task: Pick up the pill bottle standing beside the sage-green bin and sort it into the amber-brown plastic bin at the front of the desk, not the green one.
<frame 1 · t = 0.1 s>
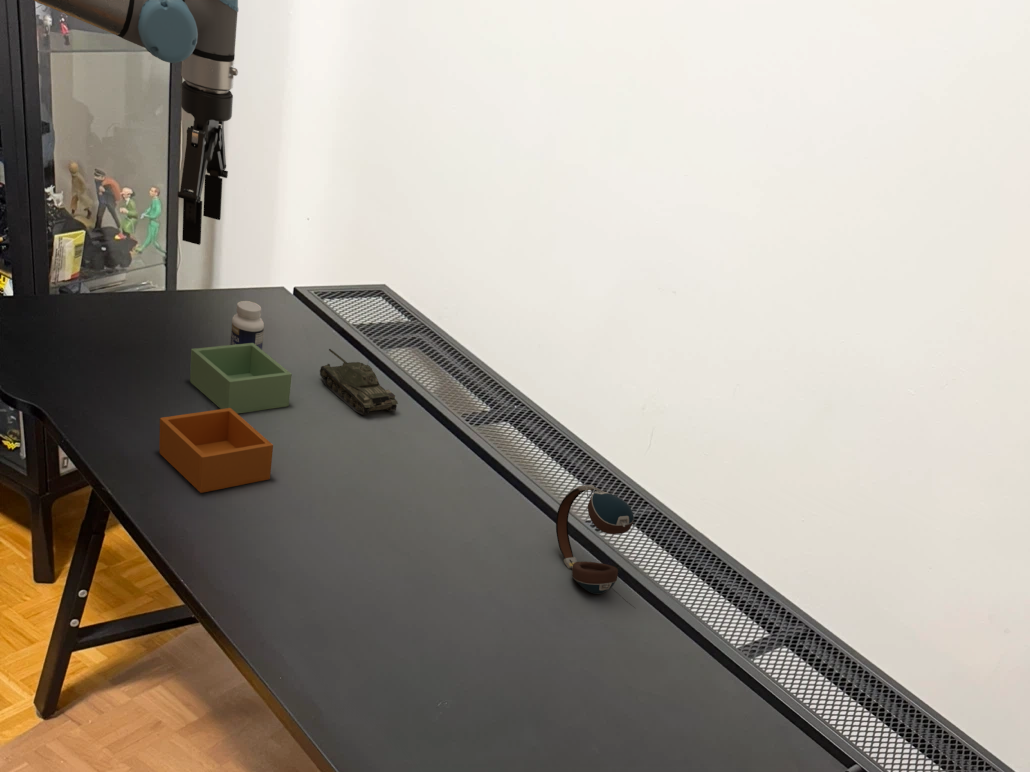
hand: (202, 229, 169), 19 cm above the table, tool pointing down, fingers open, 13 cm apart
toy tank: (353, 395, 182), on the table
headphones: (587, 586, 155), on the table
pill bottle: (245, 360, 181), on the table
amber bin: (215, 466, 153), on the table
green bin: (239, 394, 171), on the table
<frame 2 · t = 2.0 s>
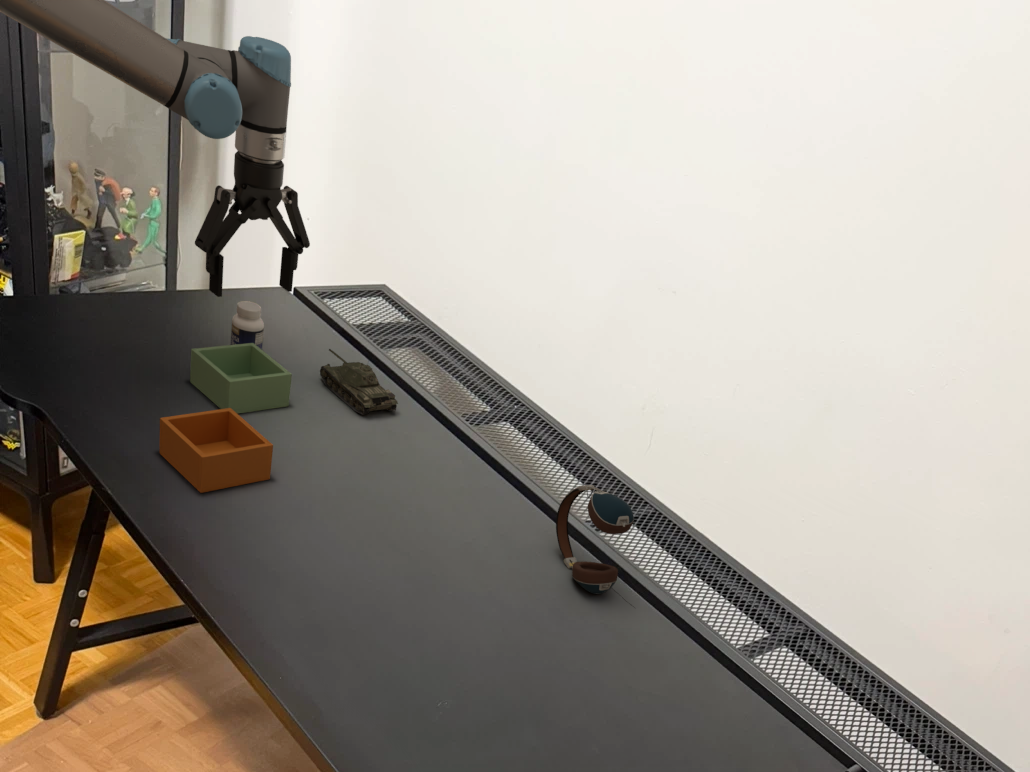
hand: (251, 291, 173), 12 cm above the table, tool pointing down, fingers open, 13 cm apart
nothing on the table moved.
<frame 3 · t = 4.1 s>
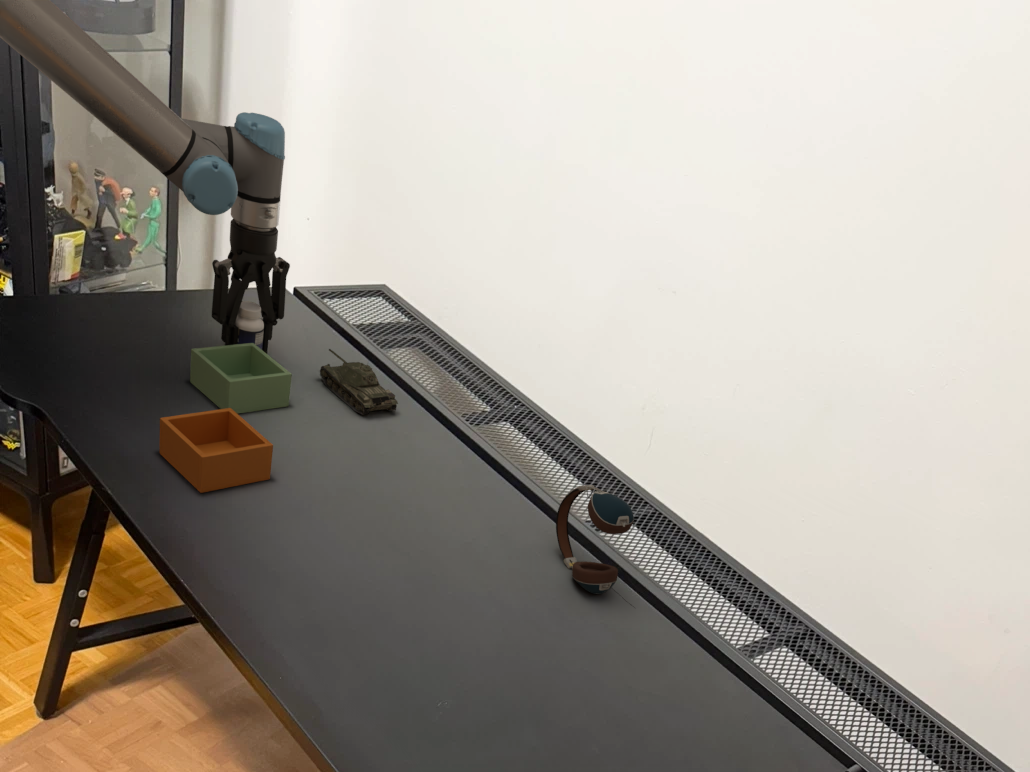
hand: (245, 358, 180), 0 cm above the table, tool pointing down, fingers closed on pill bottle, 5 cm apart
pill bottle: (245, 360, 181), on the table, touching gripper
everything else where it was.
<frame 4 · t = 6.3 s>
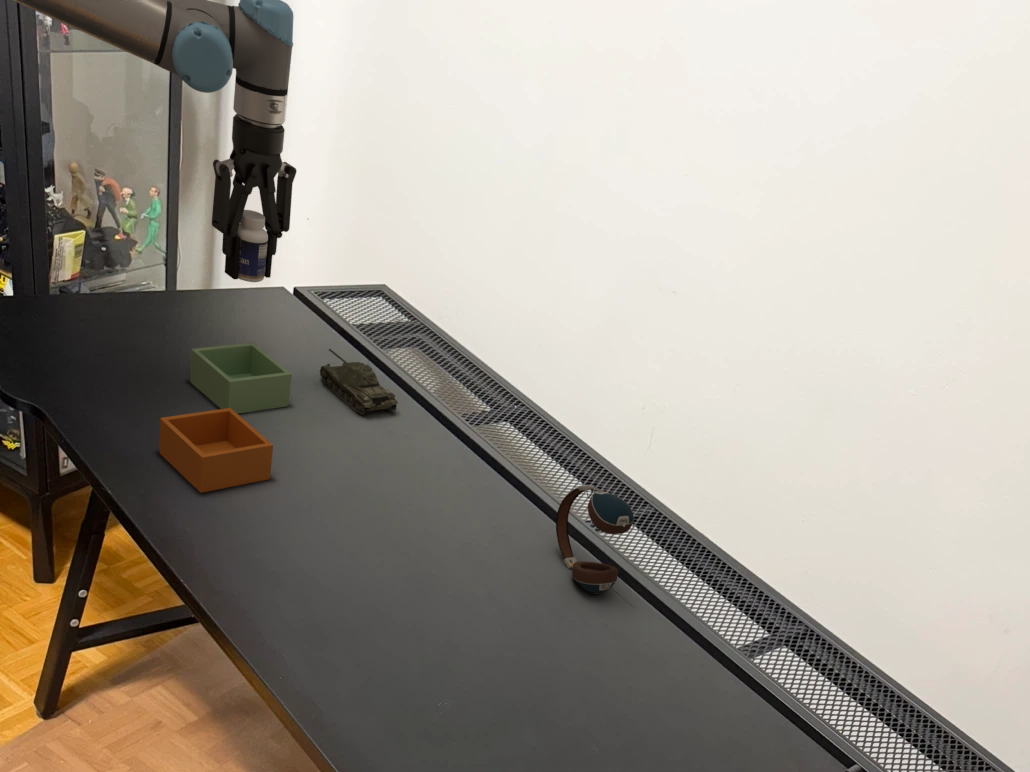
hand: (247, 274, 167), 16 cm above the table, tool pointing down, fingers closed on pill bottle, 5 cm apart
pill bottle: (247, 277, 167), point 16 cm above the table, touching gripper
everything else where it was.
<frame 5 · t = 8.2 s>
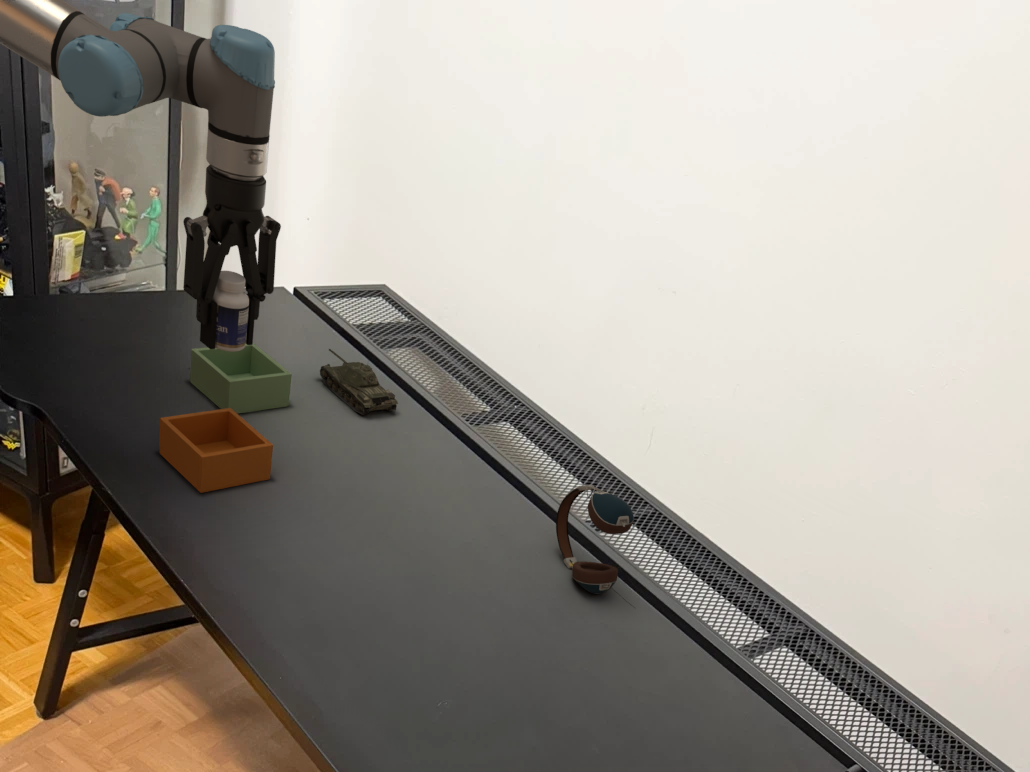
hand: (226, 342, 146), 17 cm above the table, tool pointing down, fingers closed on pill bottle, 5 cm apart
pill bottle: (226, 345, 147), point 16 cm above the table, touching gripper
everything else where it was.
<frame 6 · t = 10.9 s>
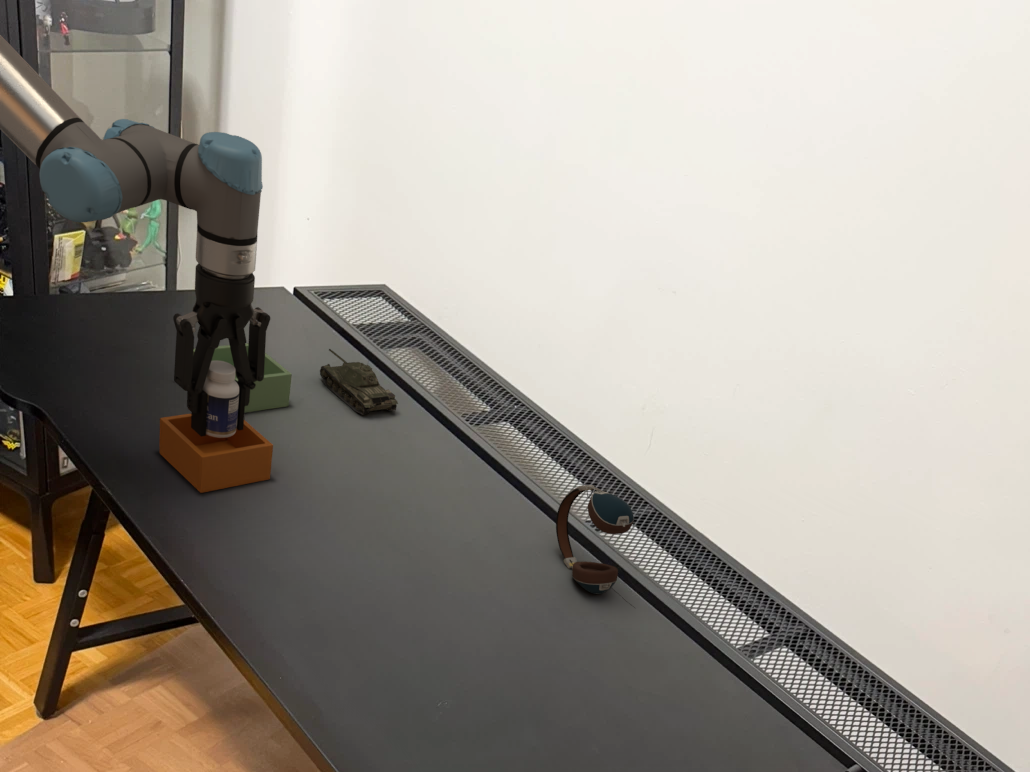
hand: (217, 428, 148), 6 cm above the table, tool pointing down, fingers closed on pill bottle, 5 cm apart
pill bottle: (217, 431, 149), point 6 cm above the table, touching gripper
everything else where it was.
when the fingers open (4 cm above the table, at t = 13.5 s): pill bottle stays where it is, resting on amber bin.
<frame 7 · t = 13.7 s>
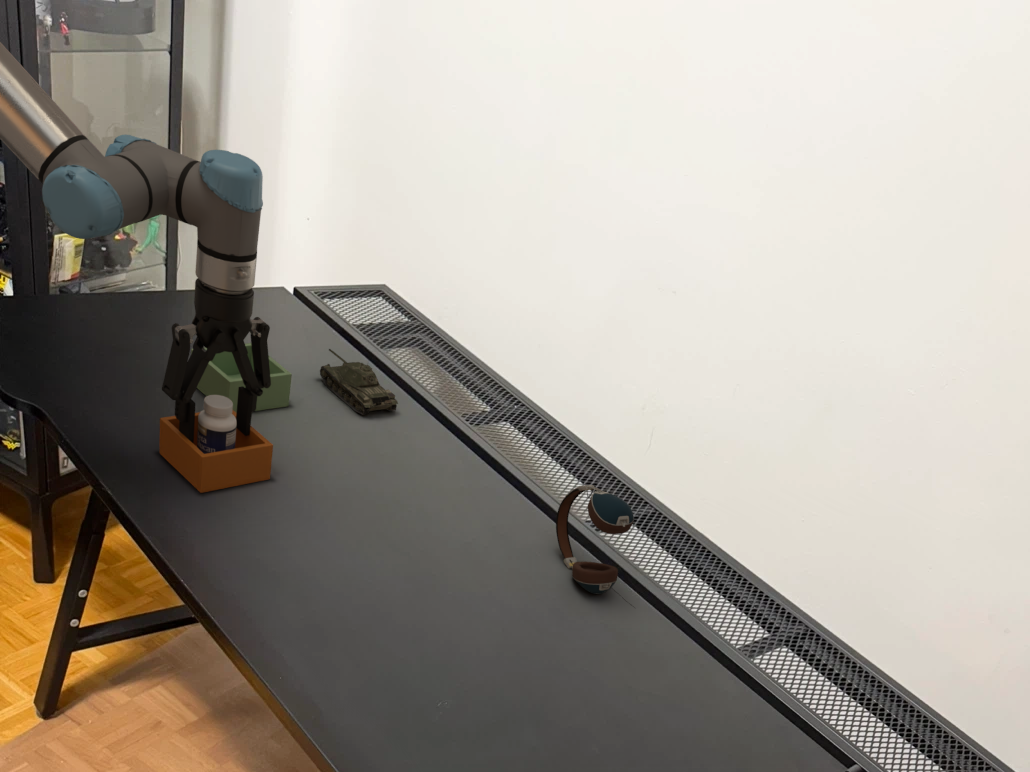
hand: (214, 435, 150), 5 cm above the table, tool pointing down, fingers open, 9 cm apart
pill bottle: (214, 462, 152), point 1 cm above the table, touching amber bin
everything else where it was.
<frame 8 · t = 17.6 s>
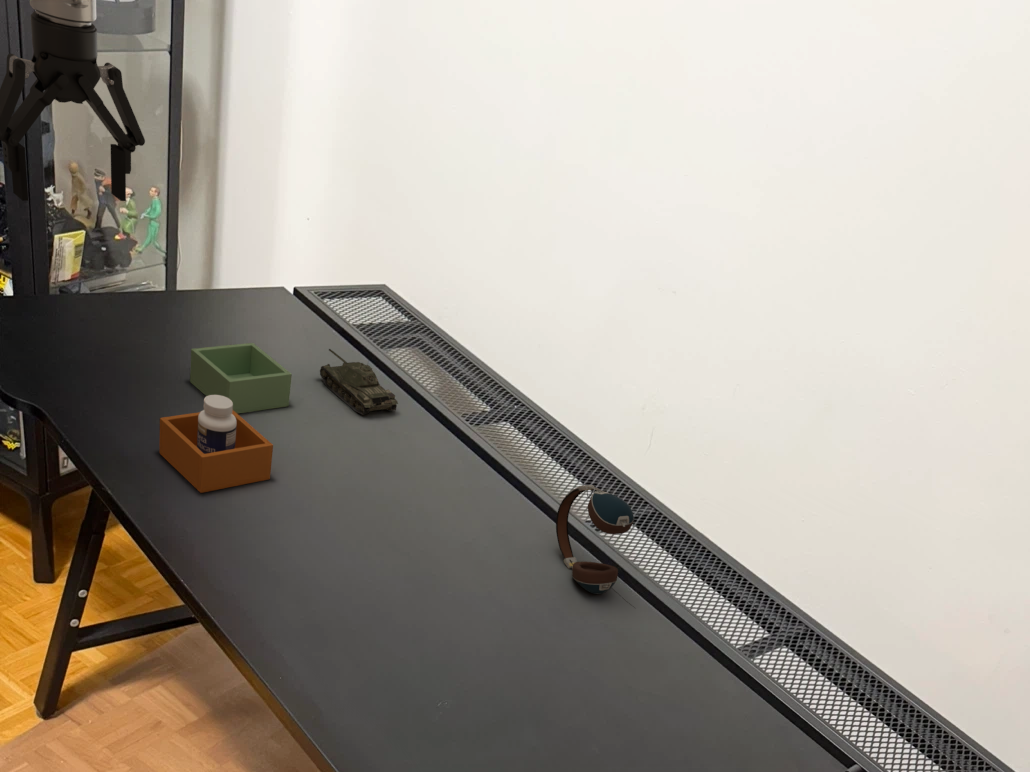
hand: (71, 197, 140), 29 cm above the table, tool pointing down, fingers open, 13 cm apart
nothing on the table moved.
at the end: pill bottle inside the target area in the amber bin (0.1 cm from its centre), point 0.6 cm above the amber bin's base; the gripper is holding nothing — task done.
